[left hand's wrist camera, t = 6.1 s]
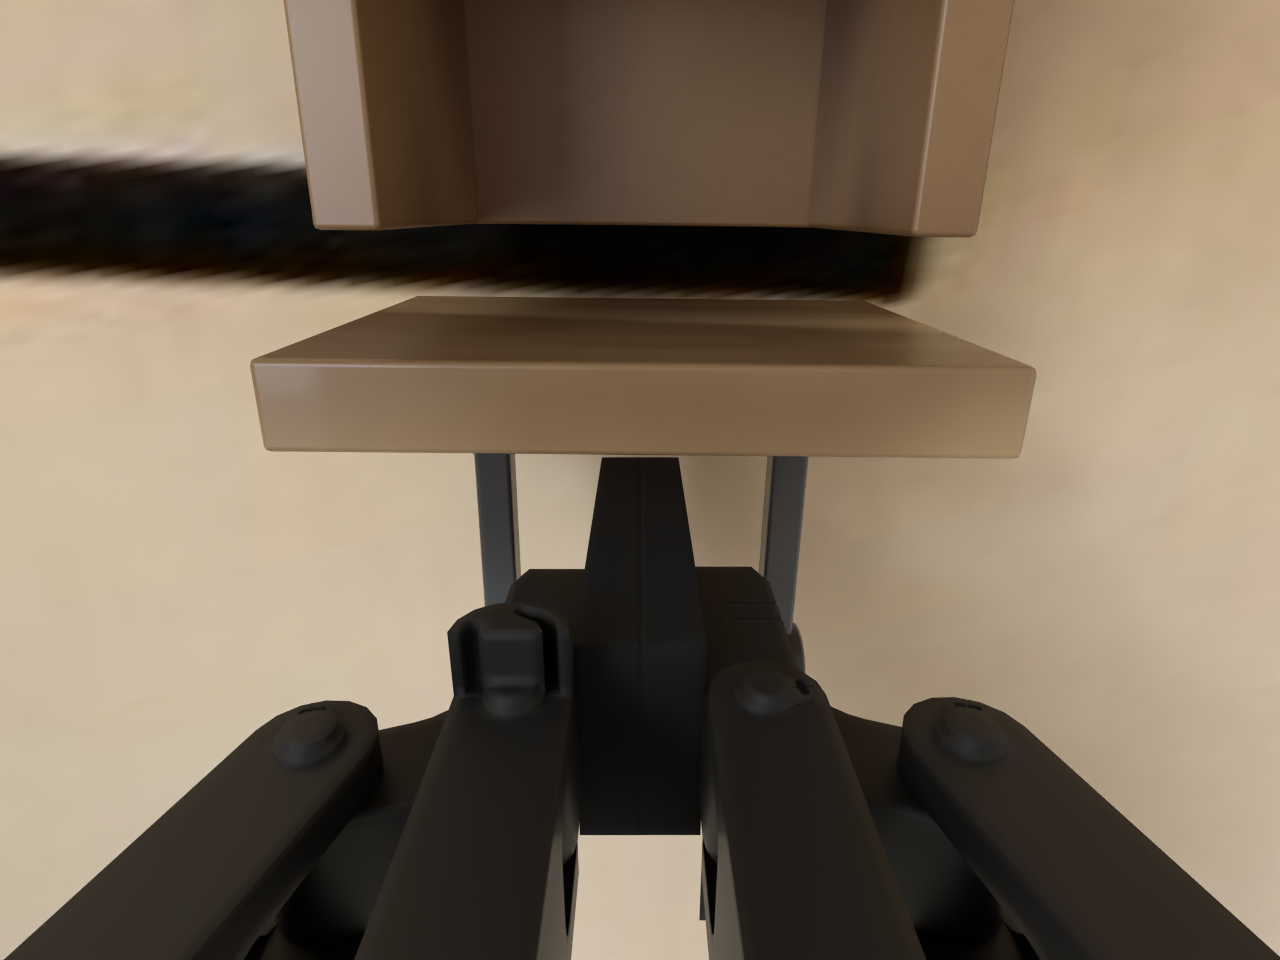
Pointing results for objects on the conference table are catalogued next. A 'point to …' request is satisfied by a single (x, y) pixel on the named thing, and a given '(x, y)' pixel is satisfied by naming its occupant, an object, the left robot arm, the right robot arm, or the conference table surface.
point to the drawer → (646, 195)
